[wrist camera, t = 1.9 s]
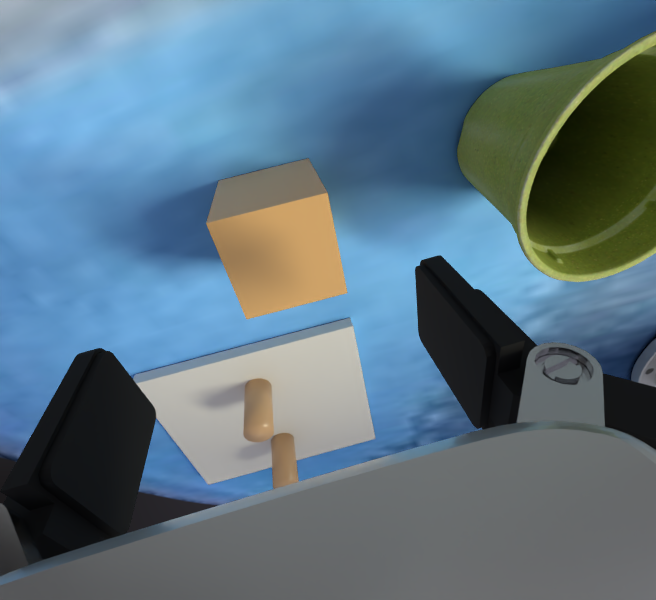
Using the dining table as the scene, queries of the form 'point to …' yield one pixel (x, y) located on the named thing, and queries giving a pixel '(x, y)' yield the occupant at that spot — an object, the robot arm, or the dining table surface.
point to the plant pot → (572, 161)
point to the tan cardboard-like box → (277, 238)
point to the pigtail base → (295, 399)
